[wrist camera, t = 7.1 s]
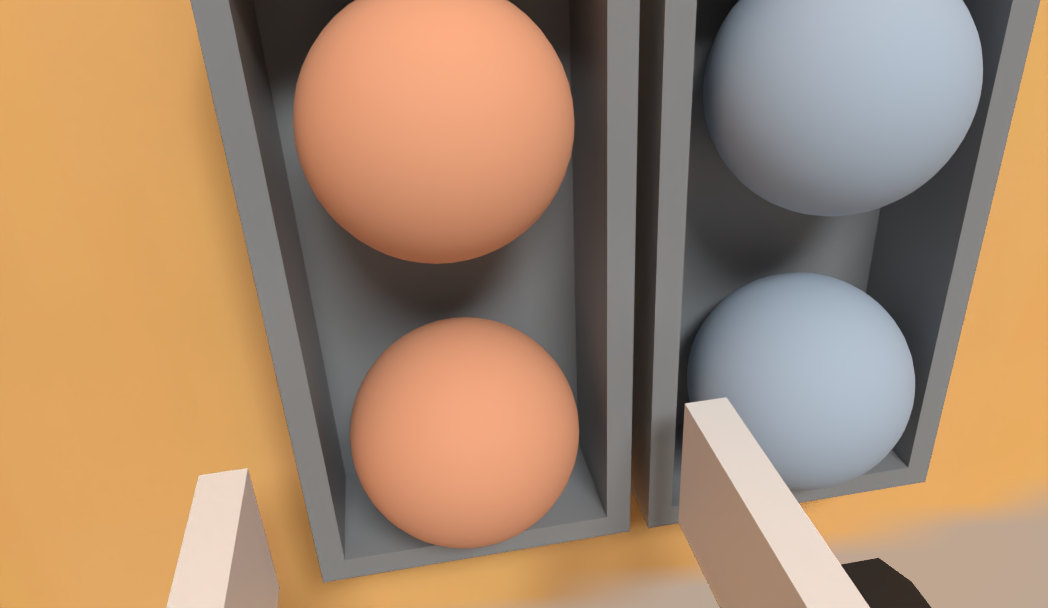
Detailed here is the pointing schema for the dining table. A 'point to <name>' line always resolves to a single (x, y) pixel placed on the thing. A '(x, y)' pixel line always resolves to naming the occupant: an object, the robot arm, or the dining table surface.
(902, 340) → the slate ball
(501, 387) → the orange ball
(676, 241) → the grey sorting trays
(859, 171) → the slate ball
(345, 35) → the rust ball
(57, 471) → the dining table surface
